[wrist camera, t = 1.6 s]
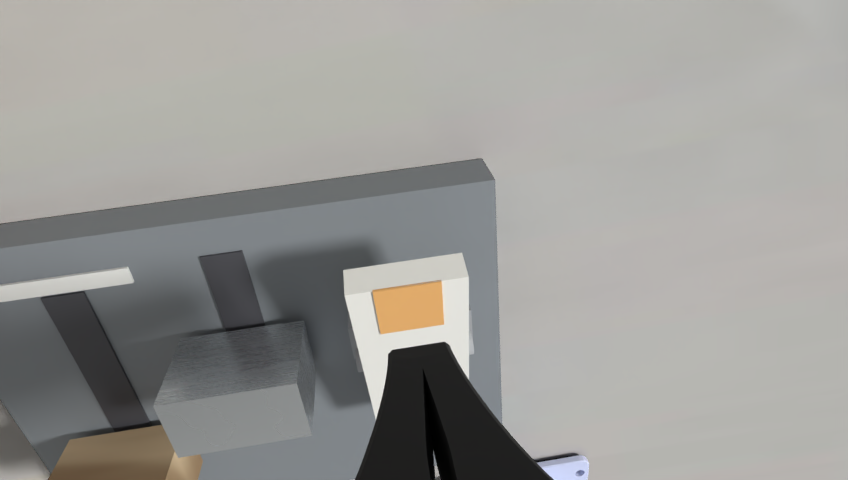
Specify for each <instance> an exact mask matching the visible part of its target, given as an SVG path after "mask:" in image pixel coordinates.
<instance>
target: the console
mask: <svg viewBox="0 0 848 480" xmlns="http://www.w3.org/2000/svg"><path fill="white" fill-rule="evenodd" d="M456 253H462V254H463V258H464V261H465V265H466V269H467V272H468V276H469V331H470V332H471V335H472V339H473V345H474V354H471V355H469V381H470V382H471V384H472V385H473V387H474V388H475V390H476V391H477V393H478V394H479V395H480V397H481V398H482V399H483V401H484V402H485V403H486V405H487V406H488V407H489V409H490V410H491V411H492V413H493V414H494V415H495V416H496V418H497V419H498V420H499V422H500V423H501V424H502V403H501V368H500V334H499V299H498V264H497V230H496V195H495V179H494V177H493V176H492V174H491V172H490V171H489V169H488V167H487V166H486V164H485V162H484V161H483V159H475V160H468V161H460V162H453V163H446V164H438V165H431V166H424V167H416V168H409V169H402V170H394V171H387V172H380V173H372V174H365V175H358V176H350V177H343V178H336V179H328V180H321V181H313V182H306V183H299V184H291V185H284V186H277V187H269V188H262V189H255V190H247V191H240V192H233V193H225V194H218V195H211V196H203V197H196V198H189V199H181V200H174V201H166V202H159V203H152V204H144V205H137V206H130V207H122V208H115V209H108V210H100V211H93V212H86V213H78V214H71V215H64V216H56V217H49V218H42V219H34V220H27V221H19V222H12V223H5V224H0V400H1V402H2V403H3V404H4V406H5V407H6V409H7V410H8V412H9V413H10V415H11V416H12V418H13V419H14V420H15V422H16V423H17V425H18V426H19V428H20V429H21V431H22V432H23V434H24V435H25V436H26V438H27V439H28V441H29V442H30V444H31V445H32V447H33V448H34V450H35V451H36V453H37V454H38V455H39V457H40V458H41V460H42V461H43V463H44V464H45V466H46V467H47V469H48V470H49V471H50V473H52V471H53V469H54V468H55V466H56V464H57V462H58V460H59V458H60V457H61V455H62V453H63V451H64V449H65V448H66V446H67V444H68V442H69V440H71V439H77V438H83V437H89V436H95V435H102V434H108V433H114V432H120V431H126V430H133V429H139V428H145V427H151V426H157V425H162V424H161V422H160V420H159V418H158V416H157V414H156V412H155V410H154V408H153V405H154V403H155V400H156V398H157V395H158V393H159V390H160V388H161V385H162V383H163V381H164V378H165V376H166V373H167V371H168V368H169V366H170V364H171V361H172V359H173V356H174V354H175V351H176V349H177V346H178V344H179V342H180V339H182V338H189V337H196V336H202V335H209V334H215V333H222V332H228V331H235V330H242V329H248V328H255V327H261V326H268V325H274V324H281V323H288V322H294V321H301V320H304V323H305V326H306V330H307V334H308V338H309V342H310V346H311V349H312V353H313V357H314V361H315V365H316V369H317V370H316V385H315V400H314V414H313V429H312V436H307V437H301V438H295V439H289V440H283V441H277V442H271V443H265V444H259V445H253V446H247V447H241V448H235V449H229V450H223V451H217V452H211V453H205V454H200V456H201V458H202V460H203V463H202V466H201V470H200V474H199V477H198V480H353V479H355V478H356V476H357V473H358V471H359V468H360V465H361V463H362V460H363V458H364V455H365V452H366V449H367V446H368V443H369V440H370V437H371V434H372V431H373V428H374V425H375V422H376V418H375V415H374V411H373V407H372V403H371V399H370V395H369V391H368V387H367V383H366V379H365V375H364V372H358V370H357V364H356V356H355V349H357V348H358V347H357V343H356V339H355V335H354V331H353V327H352V323H351V319H350V315H349V312H348V308H347V304H346V300H345V296H344V276H343V270H347V269H354V268H361V267H368V266H374V265H381V264H388V263H395V262H402V261H408V260H415V259H422V258H429V257H436V256H442V255H449V254H456ZM433 455H434V451H433ZM434 465H437V463H436V459H435V455H434Z"/></svg>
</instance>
